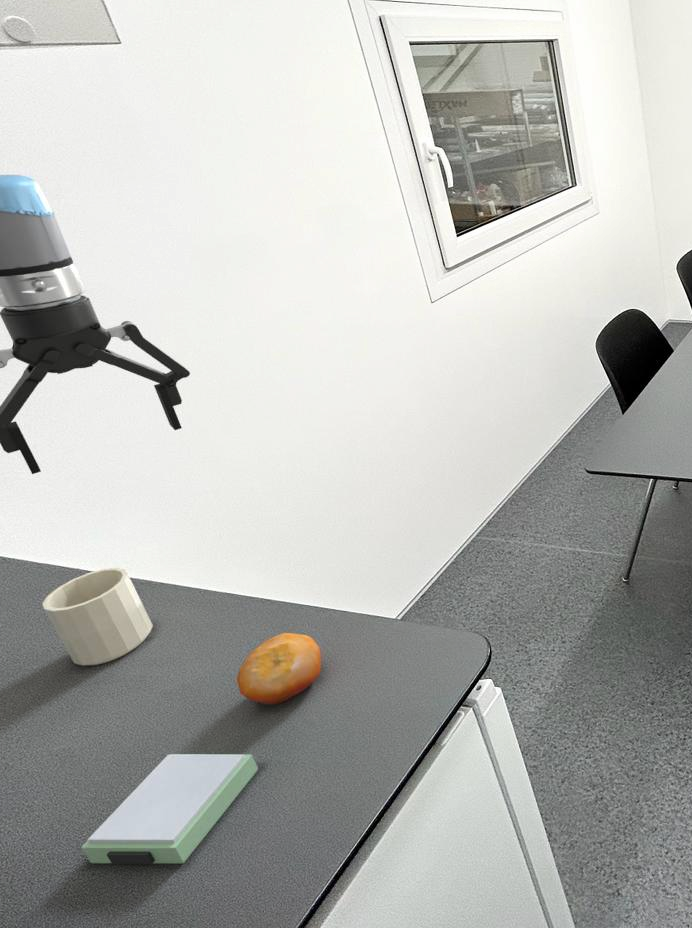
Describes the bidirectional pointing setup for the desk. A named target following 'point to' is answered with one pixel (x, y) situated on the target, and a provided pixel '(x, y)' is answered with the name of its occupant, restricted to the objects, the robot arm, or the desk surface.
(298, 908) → the desk surface
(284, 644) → the fruit
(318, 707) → the desk surface
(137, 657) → the desk surface
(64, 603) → the cream faceted cup
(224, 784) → the scale
